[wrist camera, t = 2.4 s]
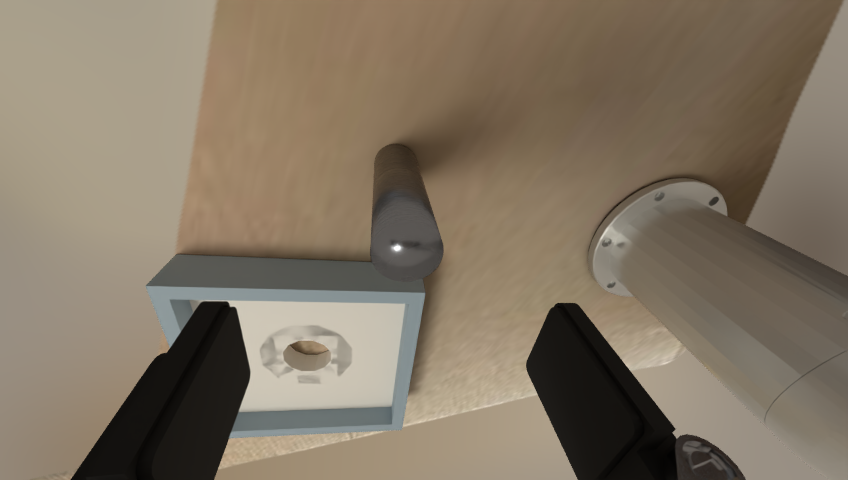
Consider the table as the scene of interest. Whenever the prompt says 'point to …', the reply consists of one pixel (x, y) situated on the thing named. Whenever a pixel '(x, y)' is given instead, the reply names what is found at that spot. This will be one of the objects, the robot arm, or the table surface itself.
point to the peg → (402, 218)
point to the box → (305, 338)
